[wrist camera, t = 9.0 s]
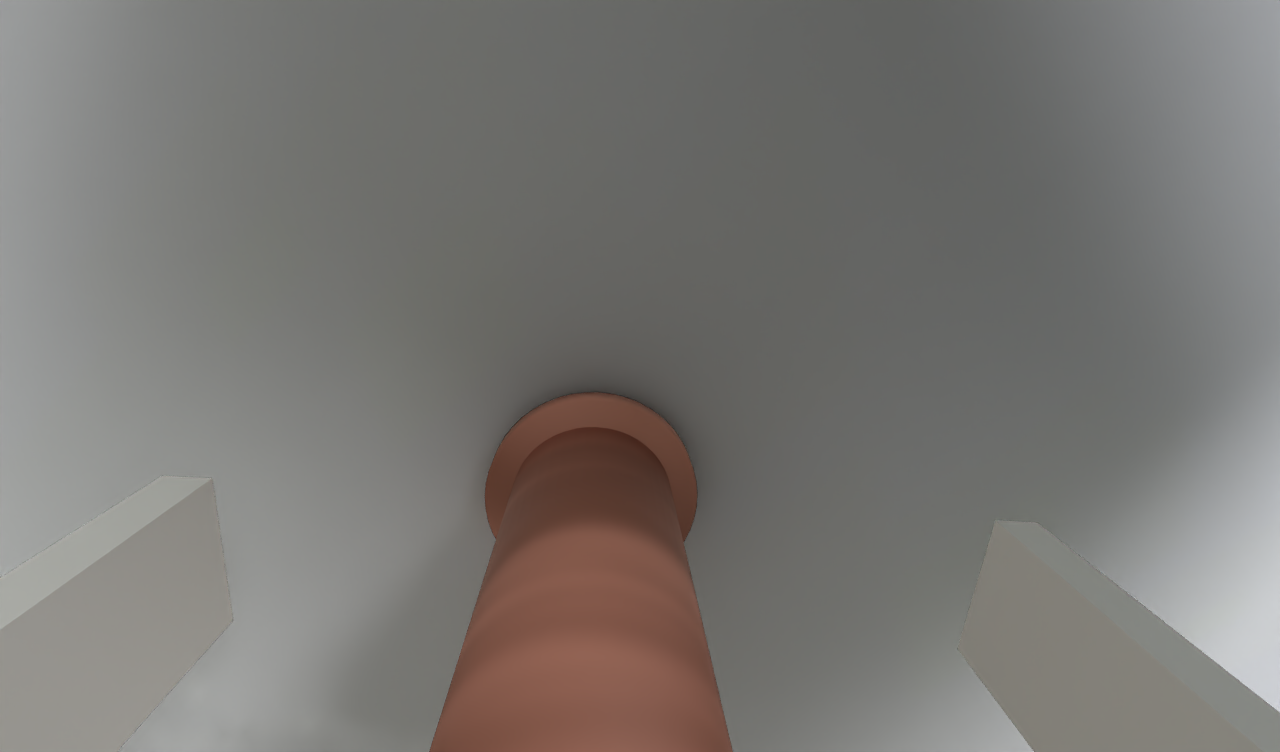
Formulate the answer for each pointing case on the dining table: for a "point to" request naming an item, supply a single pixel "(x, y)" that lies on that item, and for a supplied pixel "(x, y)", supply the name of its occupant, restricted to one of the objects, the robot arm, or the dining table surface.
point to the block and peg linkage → (587, 593)
